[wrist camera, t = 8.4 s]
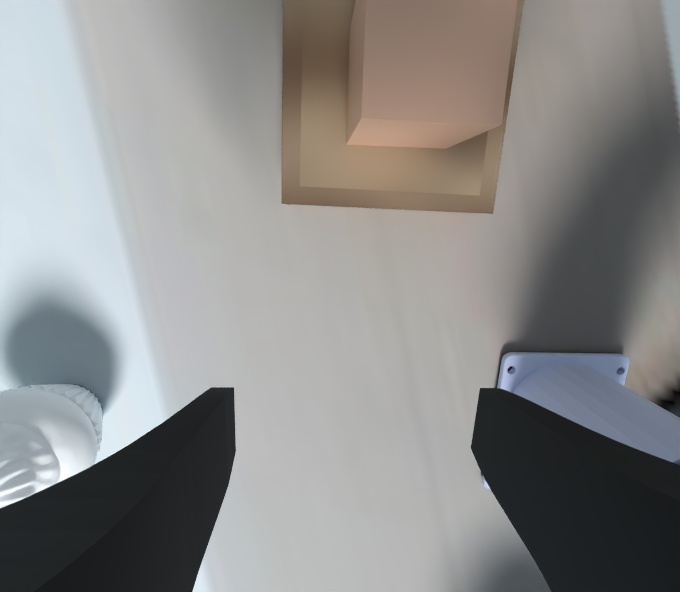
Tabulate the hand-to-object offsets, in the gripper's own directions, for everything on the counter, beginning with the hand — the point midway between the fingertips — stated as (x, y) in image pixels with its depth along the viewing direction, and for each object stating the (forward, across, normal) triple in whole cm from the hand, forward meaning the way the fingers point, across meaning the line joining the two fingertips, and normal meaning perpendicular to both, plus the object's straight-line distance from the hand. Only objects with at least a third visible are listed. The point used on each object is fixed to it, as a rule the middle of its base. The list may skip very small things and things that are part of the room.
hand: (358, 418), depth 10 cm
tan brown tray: (+10, -2, -11) cm, 15 cm away
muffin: (+11, +15, +6) cm, 19 cm away
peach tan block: (+8, -2, -11) cm, 14 cm away
